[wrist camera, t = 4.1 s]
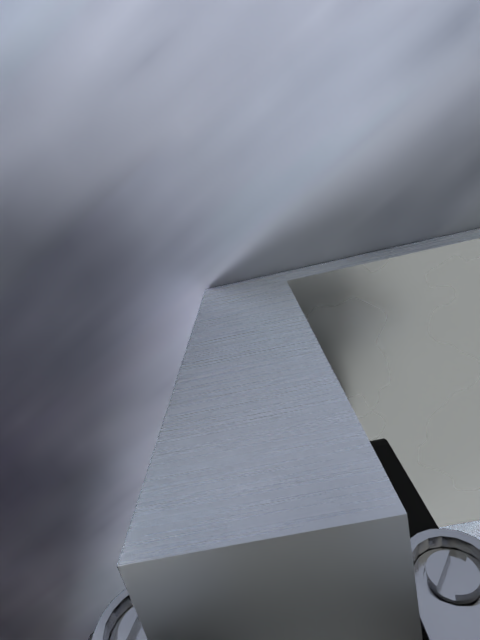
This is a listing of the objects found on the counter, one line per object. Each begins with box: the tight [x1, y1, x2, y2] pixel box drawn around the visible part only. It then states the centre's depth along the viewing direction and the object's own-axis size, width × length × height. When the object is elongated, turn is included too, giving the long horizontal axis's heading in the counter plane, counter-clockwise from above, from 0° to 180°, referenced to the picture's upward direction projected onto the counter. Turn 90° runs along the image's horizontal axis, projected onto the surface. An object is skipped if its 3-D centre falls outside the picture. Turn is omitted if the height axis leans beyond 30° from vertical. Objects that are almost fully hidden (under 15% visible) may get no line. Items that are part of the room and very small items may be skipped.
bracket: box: [117, 228, 480, 640], centre depth 8 cm, size 9×8×8 cm
